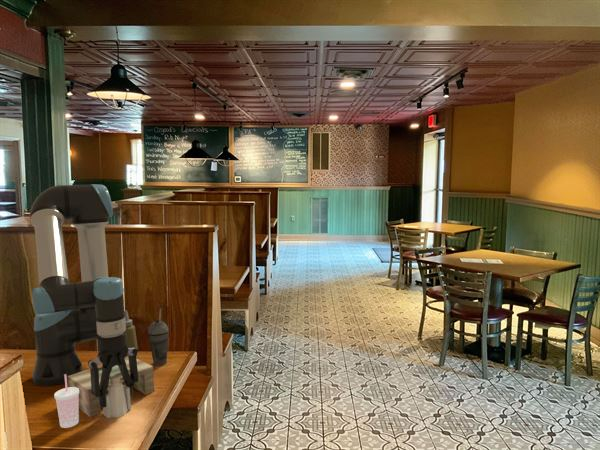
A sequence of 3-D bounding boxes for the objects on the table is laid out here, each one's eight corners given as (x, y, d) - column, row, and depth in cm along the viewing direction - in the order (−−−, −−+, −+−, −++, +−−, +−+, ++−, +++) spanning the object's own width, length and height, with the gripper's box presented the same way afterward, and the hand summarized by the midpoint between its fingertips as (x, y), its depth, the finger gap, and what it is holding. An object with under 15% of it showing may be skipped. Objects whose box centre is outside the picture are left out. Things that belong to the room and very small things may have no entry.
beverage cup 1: (85, 422, 126) (81, 373, 124) (62, 432, 121) (57, 381, 120) (76, 415, 130) (72, 367, 128) (53, 424, 125) (48, 375, 124)
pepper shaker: (106, 419, 127) (103, 381, 126) (108, 410, 132) (105, 373, 131) (127, 416, 128) (124, 378, 127) (128, 407, 134) (126, 370, 132)
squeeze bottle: (130, 363, 164) (129, 314, 163) (109, 361, 166) (108, 313, 165) (142, 355, 172) (141, 308, 171) (122, 354, 174) (121, 307, 173)
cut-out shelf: (69, 401, 138) (67, 376, 137) (132, 378, 153) (130, 355, 152) (90, 417, 129) (88, 389, 128) (154, 390, 143) (152, 366, 142)
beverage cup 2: (149, 360, 167) (146, 307, 165) (170, 357, 169) (167, 305, 167) (149, 368, 160) (145, 313, 158) (171, 365, 163) (167, 310, 160)
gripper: (84, 346, 118) (91, 430, 121) (148, 327, 132) (153, 403, 135) (72, 339, 123) (79, 421, 126) (135, 322, 137) (140, 396, 140)
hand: (117, 412), depth 130 cm, fingers closed on pepper shaker, 5 cm apart
